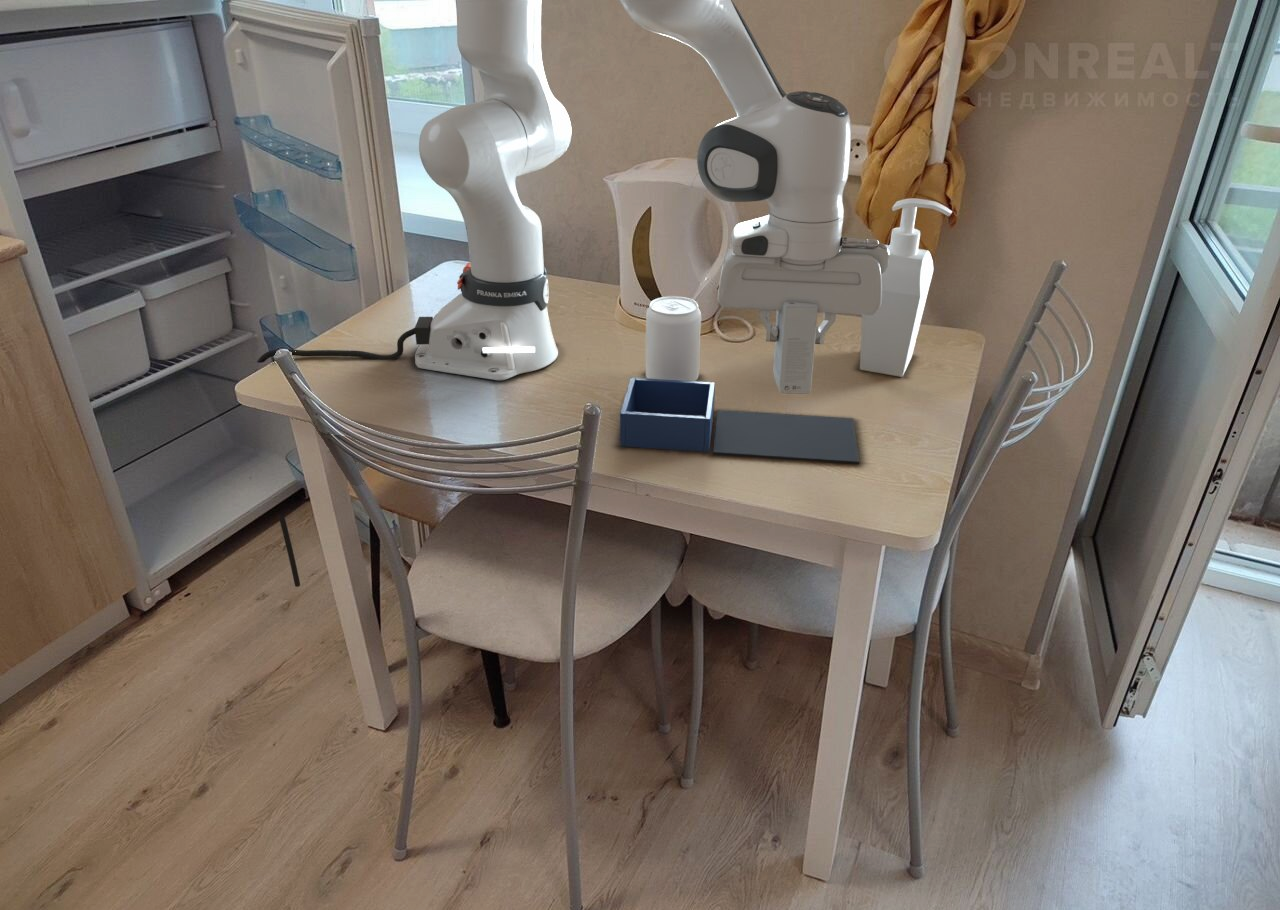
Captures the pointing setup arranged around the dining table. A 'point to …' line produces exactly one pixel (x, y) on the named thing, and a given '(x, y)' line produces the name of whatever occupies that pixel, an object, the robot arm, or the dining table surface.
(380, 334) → the dining table surface
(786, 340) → the cosmetic box
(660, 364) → the beverage can
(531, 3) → the robot arm
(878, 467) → the dining table surface
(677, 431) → the bin
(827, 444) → the mat
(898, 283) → the soap bottle
